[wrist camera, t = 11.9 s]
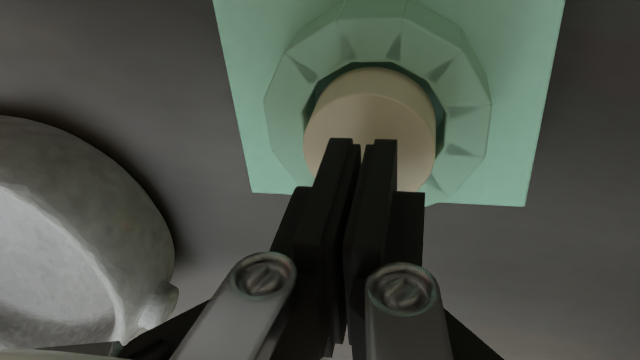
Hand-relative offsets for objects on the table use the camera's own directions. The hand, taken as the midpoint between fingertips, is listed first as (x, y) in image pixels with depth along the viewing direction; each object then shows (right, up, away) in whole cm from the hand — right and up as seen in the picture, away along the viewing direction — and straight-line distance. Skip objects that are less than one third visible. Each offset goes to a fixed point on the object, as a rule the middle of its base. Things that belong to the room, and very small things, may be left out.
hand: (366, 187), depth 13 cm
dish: (-15, -2, +13) cm, 20 cm away
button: (0, +2, +2) cm, 3 cm away
